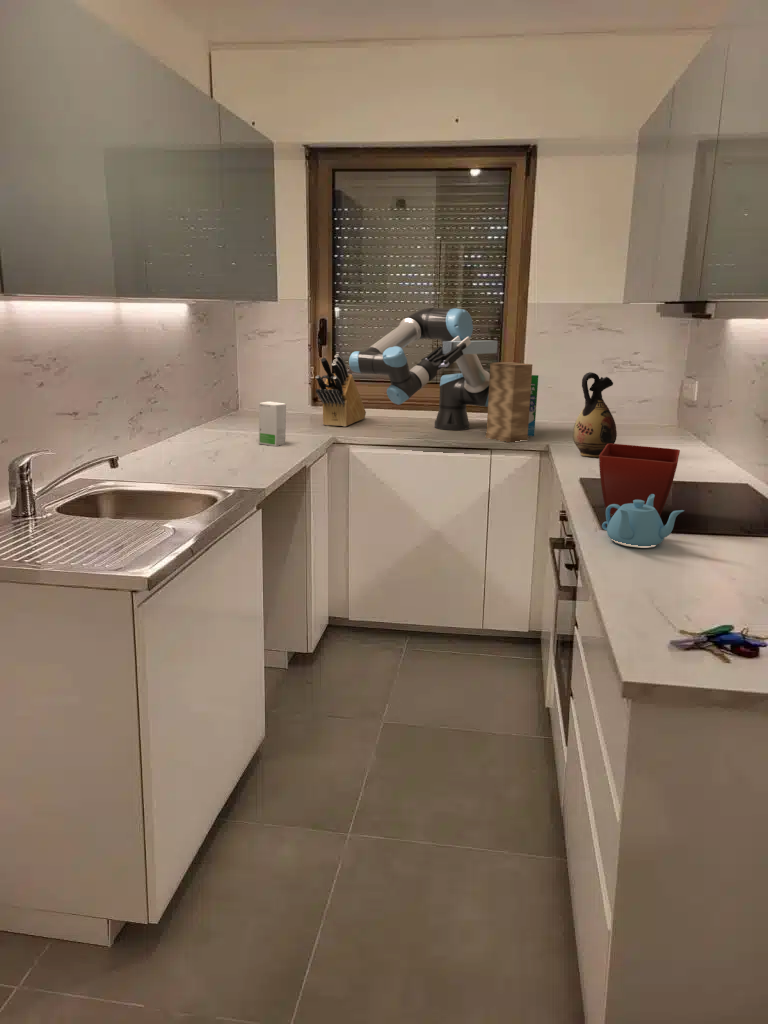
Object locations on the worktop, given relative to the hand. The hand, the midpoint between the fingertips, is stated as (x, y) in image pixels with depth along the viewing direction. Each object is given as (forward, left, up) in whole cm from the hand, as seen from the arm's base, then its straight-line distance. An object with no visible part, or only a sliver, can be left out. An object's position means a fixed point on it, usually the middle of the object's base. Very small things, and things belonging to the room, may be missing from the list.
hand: (464, 339), depth 296 cm
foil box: (0, +3, -5) cm, 6 cm away
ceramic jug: (+40, +27, -40) cm, 63 cm away
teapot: (+114, -52, -40) cm, 132 cm away
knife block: (-67, -8, -40) cm, 78 cm away
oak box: (0, +26, -40) cm, 48 cm away
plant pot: (+98, -30, -40) cm, 110 cm away
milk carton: (-5, +41, -40) cm, 58 cm away
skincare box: (-41, -58, -40) cm, 81 cm away
